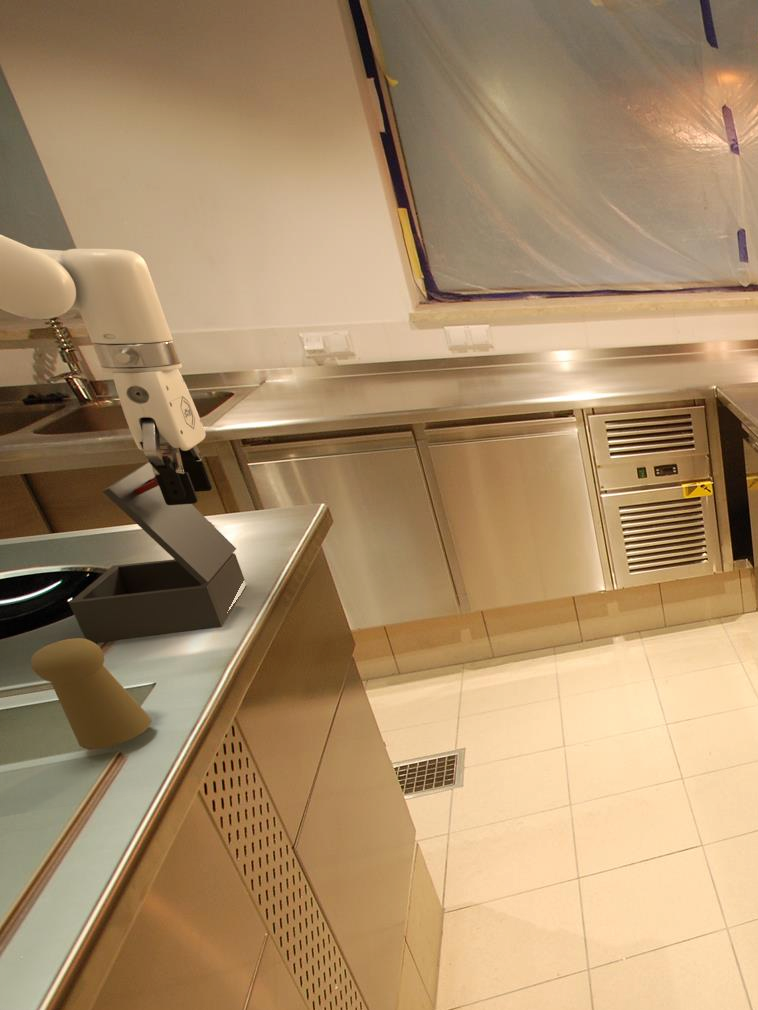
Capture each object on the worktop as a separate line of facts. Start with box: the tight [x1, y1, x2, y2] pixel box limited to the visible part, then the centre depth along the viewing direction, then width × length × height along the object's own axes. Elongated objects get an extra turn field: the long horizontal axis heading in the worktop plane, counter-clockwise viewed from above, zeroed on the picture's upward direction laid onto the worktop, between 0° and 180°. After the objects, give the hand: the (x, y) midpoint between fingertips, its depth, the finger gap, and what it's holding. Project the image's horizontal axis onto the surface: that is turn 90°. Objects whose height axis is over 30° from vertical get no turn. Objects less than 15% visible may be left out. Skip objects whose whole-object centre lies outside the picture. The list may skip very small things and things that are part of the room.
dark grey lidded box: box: [68, 552, 246, 644], centre depth 116 cm, size 14×15×7 cm
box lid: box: [102, 461, 237, 585], centre depth 113 cm, size 15×15×5 cm
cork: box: [30, 637, 153, 750], centre depth 88 cm, size 6×6×11 cm
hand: (190, 496), depth 112 cm, fingers closed on box lid, 6 cm apart
